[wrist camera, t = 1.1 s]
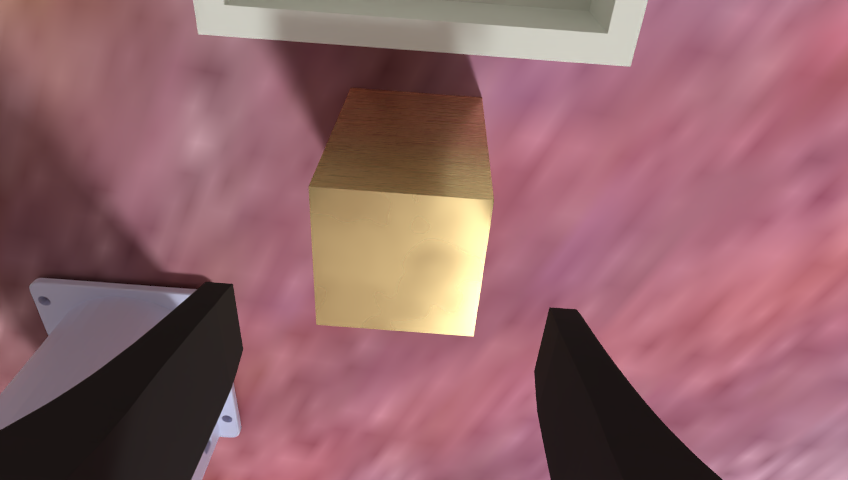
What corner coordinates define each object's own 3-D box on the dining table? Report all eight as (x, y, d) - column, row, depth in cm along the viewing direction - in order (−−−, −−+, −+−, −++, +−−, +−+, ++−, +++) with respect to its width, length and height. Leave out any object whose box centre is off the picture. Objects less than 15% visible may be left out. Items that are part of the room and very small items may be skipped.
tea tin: (468, 209, 22) (473, 336, 17) (351, 201, 22) (316, 324, 17) (481, 97, 20) (493, 200, 14) (350, 87, 20) (308, 186, 14)
